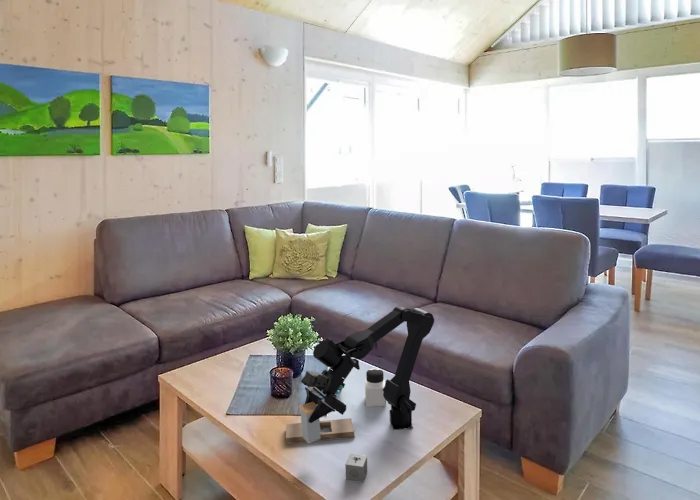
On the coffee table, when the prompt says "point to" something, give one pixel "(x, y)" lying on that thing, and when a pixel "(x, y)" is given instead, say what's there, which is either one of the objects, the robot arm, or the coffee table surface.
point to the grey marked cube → (356, 468)
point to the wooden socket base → (338, 431)
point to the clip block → (309, 429)
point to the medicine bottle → (374, 388)
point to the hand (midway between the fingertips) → (305, 418)
